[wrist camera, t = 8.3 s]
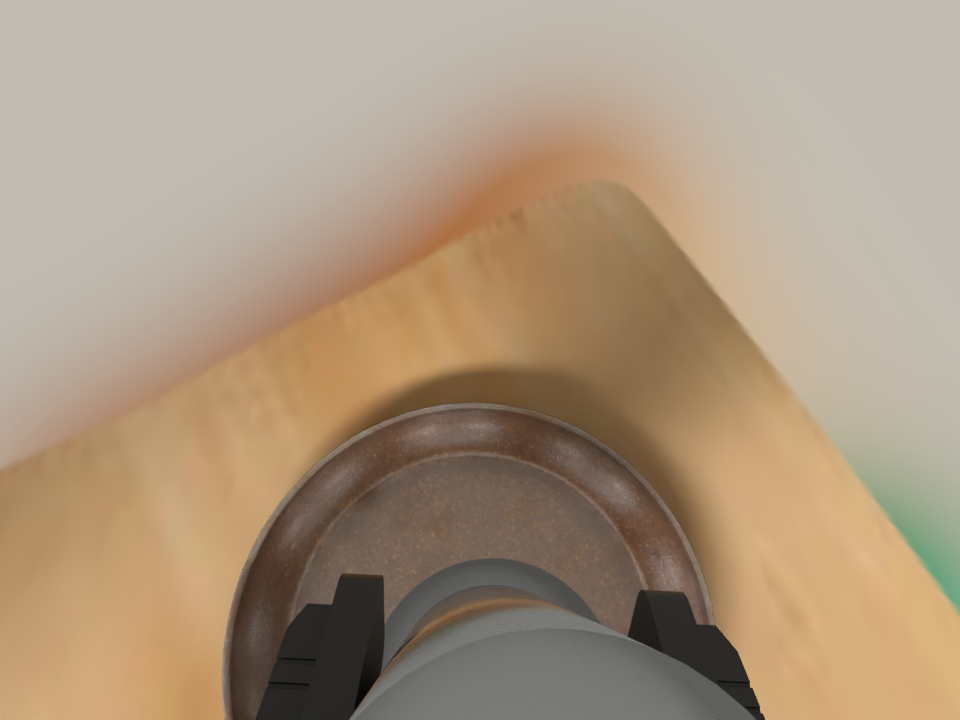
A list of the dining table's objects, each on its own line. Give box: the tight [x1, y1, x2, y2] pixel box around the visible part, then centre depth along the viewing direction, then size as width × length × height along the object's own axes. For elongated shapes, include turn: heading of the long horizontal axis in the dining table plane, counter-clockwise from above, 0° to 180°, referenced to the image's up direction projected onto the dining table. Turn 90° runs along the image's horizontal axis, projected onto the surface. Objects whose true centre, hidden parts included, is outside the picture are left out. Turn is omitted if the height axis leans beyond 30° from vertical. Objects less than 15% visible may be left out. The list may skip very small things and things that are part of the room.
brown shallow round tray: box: [222, 403, 715, 720], centre depth 24 cm, size 18×18×3 cm
